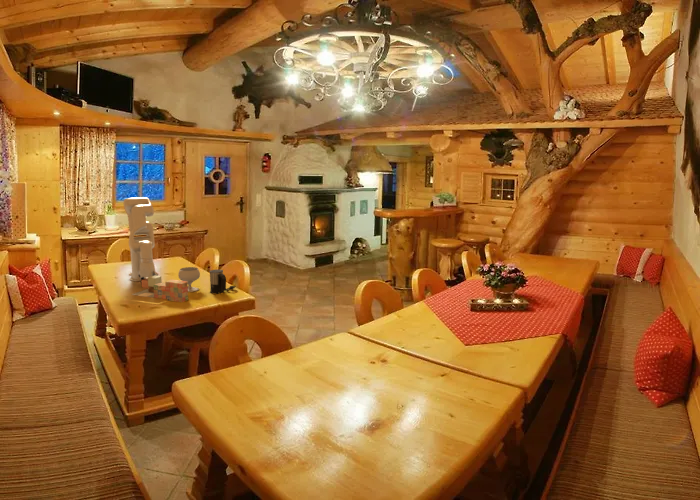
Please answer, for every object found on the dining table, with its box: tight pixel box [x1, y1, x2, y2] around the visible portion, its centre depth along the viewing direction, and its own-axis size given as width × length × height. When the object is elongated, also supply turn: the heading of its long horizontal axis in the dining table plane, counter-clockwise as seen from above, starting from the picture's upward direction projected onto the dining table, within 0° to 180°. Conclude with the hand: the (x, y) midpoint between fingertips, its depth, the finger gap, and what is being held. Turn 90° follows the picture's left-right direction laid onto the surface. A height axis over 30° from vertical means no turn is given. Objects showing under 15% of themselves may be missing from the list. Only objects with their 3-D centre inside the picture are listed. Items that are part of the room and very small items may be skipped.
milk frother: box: [209, 269, 237, 294], centre depth 336 cm, size 14×16×15 cm
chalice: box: [177, 266, 201, 293], centre depth 337 cm, size 14×14×15 cm
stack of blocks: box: [154, 279, 189, 303], centre depth 316 cm, size 21×6×12 cm, turn 72°
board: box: [131, 288, 154, 298], centre depth 327 cm, size 18×17×1 cm
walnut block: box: [147, 286, 154, 293], centre depth 331 cm, size 6×6×4 cm
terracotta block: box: [141, 278, 148, 289], centre depth 342 cm, size 6×6×6 cm
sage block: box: [148, 275, 163, 287], centre depth 330 cm, size 6×6×6 cm
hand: (148, 284), depth 342 cm, fingers open, 9 cm apart
